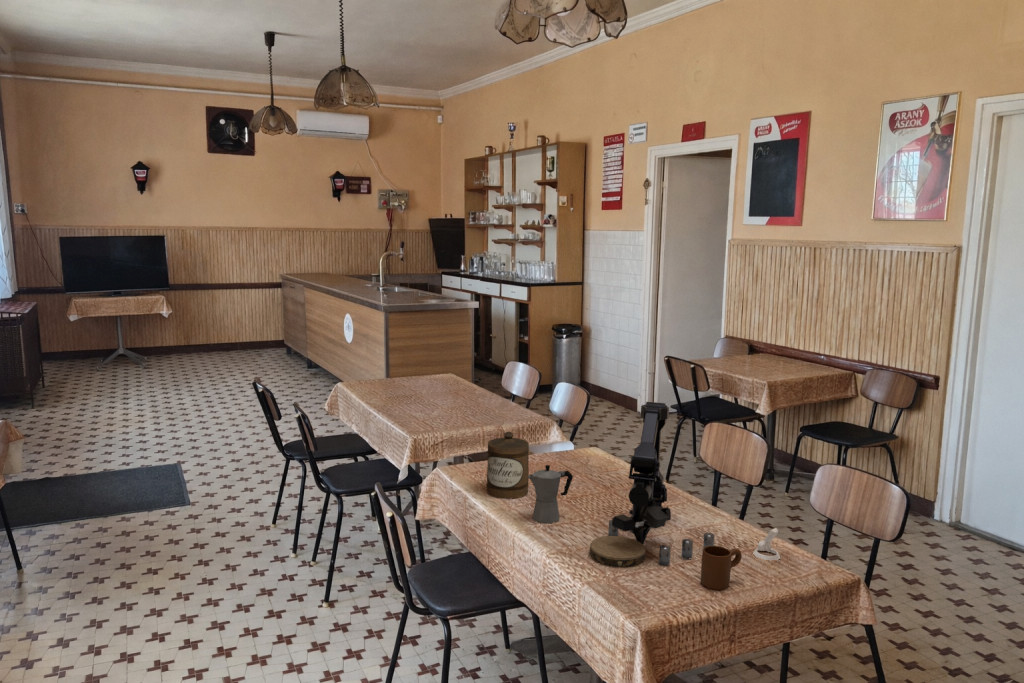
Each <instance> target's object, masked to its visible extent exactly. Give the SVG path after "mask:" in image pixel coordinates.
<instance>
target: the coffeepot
mask: <svg viewBox="0 0 1024 683" xmlns="http://www.w3.org/2000/svg"><path fill="white" fill-rule="evenodd" d="M544 467H545V469H540V470H536V471H534V472H533V473H532V474H531V473H530V474H529V476H528V478H529V480H530V481H531V482H532V485H533V487H534V491H535V495H536V496H535V502H534V508H533V514H532V520H533V521H534V520H535V521H534V522H536V521H537V522H536V523H539V522H540V524H547V523H548V524H554V523H553V522H555V523H557V522H559V521H560V511H559V505H558V504H559V503H558V499H557V498H558V497H557V496H558V494H559V488H560V482H561V478H565V477H567V479H566V481H565V482H566V483H565V485H564V489H563V492H560V494H559V495H560V496H562V497H563V496H567V494H568V492H569V490H570V486H571V483H572V480H573V474H572V473H571V472H570V471H569V470H559V471H556V470H554V469H553V470H551V469H550V467H551V465H549V464H546V465H545V466H544ZM556 521H557V522H556Z"/></svg>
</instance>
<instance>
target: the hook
mask: <svg viewBox="0 0 1024 683" xmlns="http://www.w3.org/2000/svg"><path fill="white" fill-rule="evenodd" d="M778 533H779V530H778V528H777V527H776V528H773V529H770V531H769V532H768V534H767V535H766V536H765V538H764V539H763V540H761V541H759V542H758V543H757V548H755V550H754V551H753V553H752V555H753V554H754V555H755V556H756V557H758V558H761V559H764V560H770V561H771V560H778V559H780V560H781V556H780V553H779V552H778V550H776V549H773V548H772V542H773V540H774V539H775V538H776V536H777V535H778ZM761 550H763V551H768V552H767V553H769V552H772V553H774V554H773V555H766V554H762V553H761V552H757V551H761ZM772 553H771V554H772ZM775 554H776V555H775Z"/></svg>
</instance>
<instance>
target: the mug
mask: <svg viewBox="0 0 1024 683" xmlns="http://www.w3.org/2000/svg"><path fill="white" fill-rule="evenodd" d="M733 556H734V558H733V559H732V557H733ZM742 557H743V556H742V551H741V550H740V549H738V548H731V549H728V548H727V547H723V546H720V545H714V546H706V547H704V548H703V547H702V553H701V562H700V564H701V566H700V583H701V584H702V586H704V587H705V586H706V588H707V587H708V588H707V589H710V590H715V591H722V590H723V591H724V590H725V589H728V588H729V586H730V583H731V571H732V568H734V567H737V566H738V565H739V564H740V562H741V560H742Z"/></svg>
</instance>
